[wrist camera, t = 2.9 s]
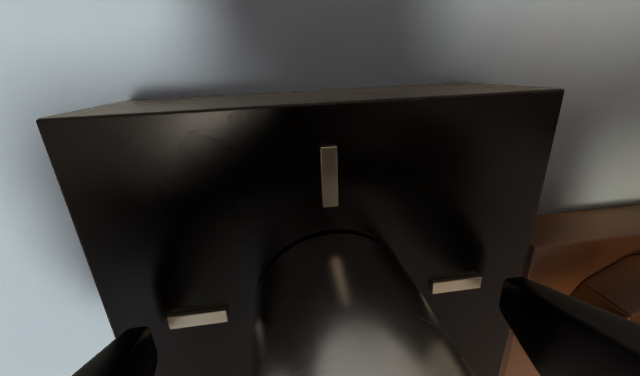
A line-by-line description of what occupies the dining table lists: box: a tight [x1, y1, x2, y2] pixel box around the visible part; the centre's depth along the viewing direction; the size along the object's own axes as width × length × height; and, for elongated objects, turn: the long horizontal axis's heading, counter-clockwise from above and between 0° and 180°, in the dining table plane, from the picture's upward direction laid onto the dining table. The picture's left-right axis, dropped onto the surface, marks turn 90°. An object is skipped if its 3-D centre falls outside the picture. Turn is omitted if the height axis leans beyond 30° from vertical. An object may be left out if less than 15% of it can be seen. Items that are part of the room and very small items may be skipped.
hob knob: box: [249, 233, 476, 376], centre depth 6 cm, size 4×4×4 cm
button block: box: [499, 204, 640, 376], centre depth 13 cm, size 10×9×4 cm
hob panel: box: [36, 82, 564, 376], centre depth 10 cm, size 11×10×4 cm
